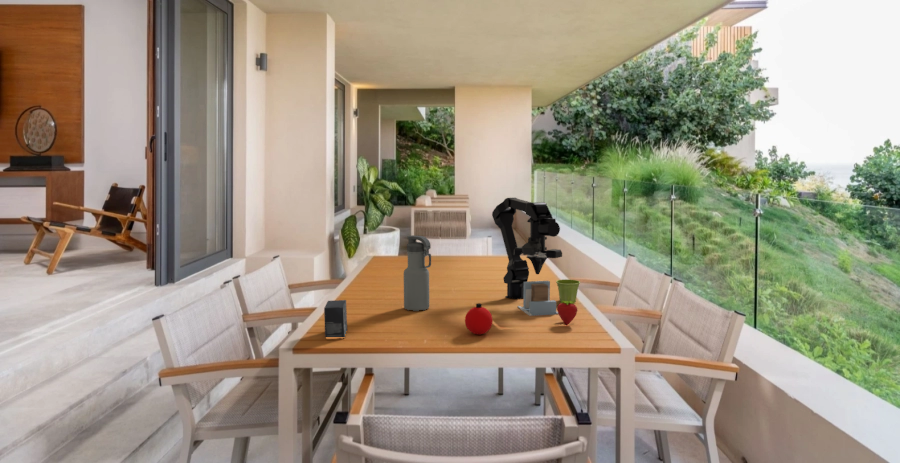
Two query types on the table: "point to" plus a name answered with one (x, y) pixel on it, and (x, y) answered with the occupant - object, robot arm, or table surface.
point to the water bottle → (417, 274)
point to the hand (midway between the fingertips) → (537, 274)
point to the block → (539, 292)
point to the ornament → (478, 320)
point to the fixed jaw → (542, 307)
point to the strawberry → (567, 311)
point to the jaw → (528, 292)
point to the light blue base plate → (530, 313)
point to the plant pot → (568, 289)
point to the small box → (335, 318)
